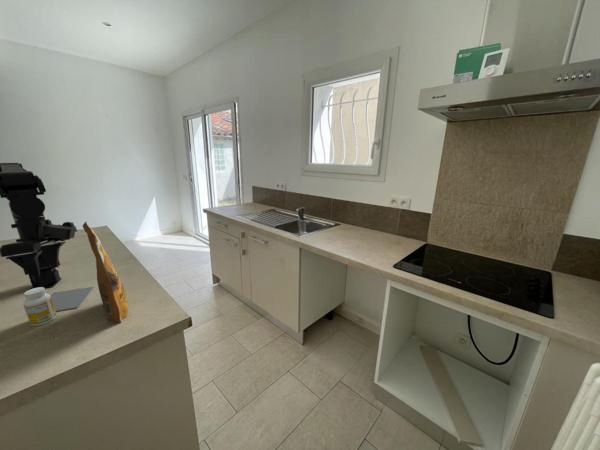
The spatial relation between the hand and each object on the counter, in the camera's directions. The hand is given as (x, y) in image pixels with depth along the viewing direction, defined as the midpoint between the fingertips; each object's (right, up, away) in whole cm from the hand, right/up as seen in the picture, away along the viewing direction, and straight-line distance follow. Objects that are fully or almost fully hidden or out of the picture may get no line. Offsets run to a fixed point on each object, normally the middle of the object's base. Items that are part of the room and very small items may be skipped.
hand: (46, 271), depth 69 cm
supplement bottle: (-3, -15, +2) cm, 15 cm away
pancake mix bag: (+15, -14, +7) cm, 21 cm away
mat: (-5, -12, +11) cm, 17 cm away
